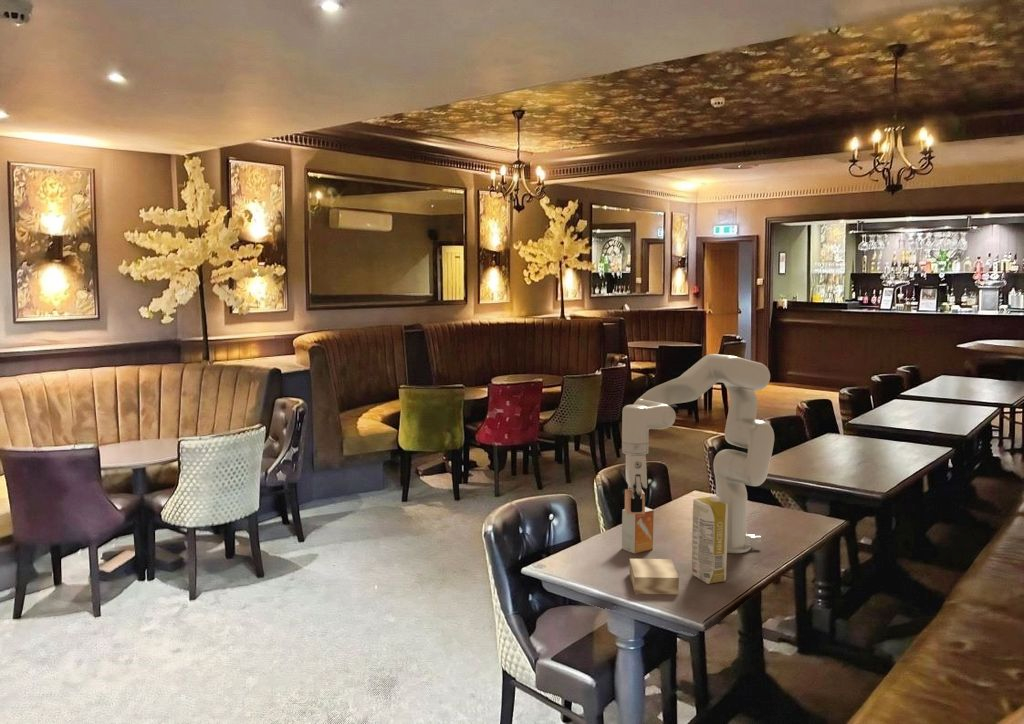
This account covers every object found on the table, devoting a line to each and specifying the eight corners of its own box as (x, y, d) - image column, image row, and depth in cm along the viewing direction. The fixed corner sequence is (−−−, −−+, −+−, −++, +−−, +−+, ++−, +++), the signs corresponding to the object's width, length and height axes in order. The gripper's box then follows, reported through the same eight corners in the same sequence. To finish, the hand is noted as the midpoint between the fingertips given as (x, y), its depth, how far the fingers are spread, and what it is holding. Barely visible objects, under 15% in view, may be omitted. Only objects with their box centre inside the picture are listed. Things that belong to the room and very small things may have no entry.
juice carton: (730, 582, 215) (732, 499, 213) (706, 586, 213) (708, 502, 210) (710, 570, 224) (712, 491, 222) (687, 574, 221) (689, 494, 219)
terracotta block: (641, 508, 224) (641, 489, 223) (644, 514, 219) (644, 493, 218) (624, 509, 224) (624, 489, 223) (627, 514, 219) (627, 494, 218)
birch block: (670, 575, 221) (671, 559, 221) (678, 595, 208) (678, 577, 207) (629, 575, 222) (629, 558, 222) (634, 594, 208) (634, 577, 208)
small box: (634, 554, 238) (635, 514, 236) (621, 548, 243) (621, 509, 242) (653, 549, 242) (654, 509, 241) (639, 543, 248) (640, 504, 246)
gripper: (653, 454, 211) (653, 517, 213) (643, 441, 228) (642, 500, 230) (626, 454, 211) (626, 518, 213) (618, 441, 228) (617, 500, 230)
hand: (634, 508), depth 221 cm, fingers closed on terracotta block, 5 cm apart
